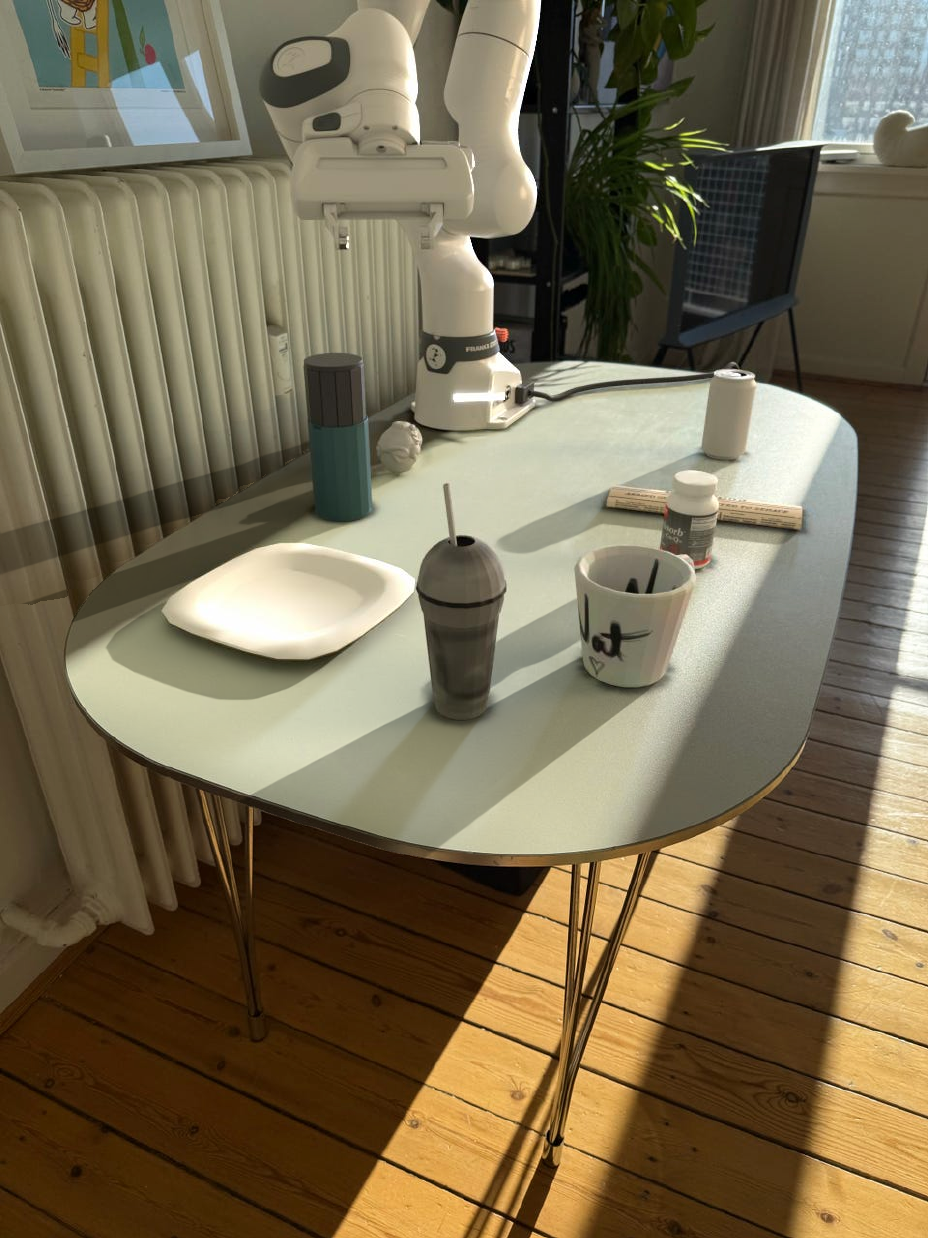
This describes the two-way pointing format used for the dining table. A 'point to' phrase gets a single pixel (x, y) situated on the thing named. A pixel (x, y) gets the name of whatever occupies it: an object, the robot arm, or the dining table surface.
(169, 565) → the dining table surface
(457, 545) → the beverage cup
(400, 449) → the cream lumpy ball
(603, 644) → the mug
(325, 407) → the flask lid
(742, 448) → the beverage can
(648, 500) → the newspaper
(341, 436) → the flask
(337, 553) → the plate
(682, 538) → the pill bottle
